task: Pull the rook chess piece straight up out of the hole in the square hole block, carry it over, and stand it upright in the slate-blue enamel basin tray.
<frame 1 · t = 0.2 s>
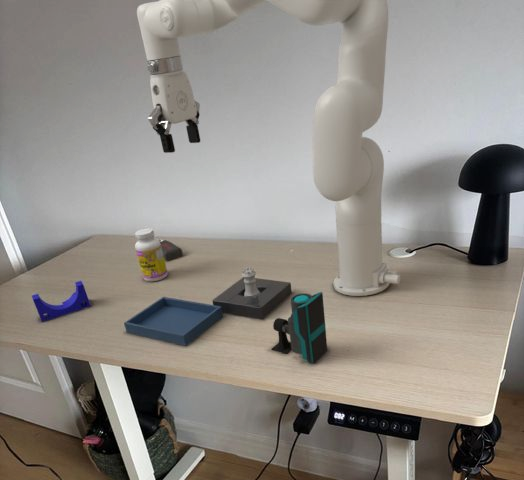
hand: (182, 147, 126), 31 cm above the table, tool pointing down, fingers open, 9 cm apart
basin tray: (175, 324, 115), on the table
square hole block: (253, 302, 119), on the table
blue curved cradle bracket: (65, 311, 130), on the table
supplement bottle: (156, 277, 141), on the table
surveillance camera: (298, 351, 99), on the table
rook chess piece: (253, 303, 119), resting in square hole block
usb drive: (167, 253, 156), on the table
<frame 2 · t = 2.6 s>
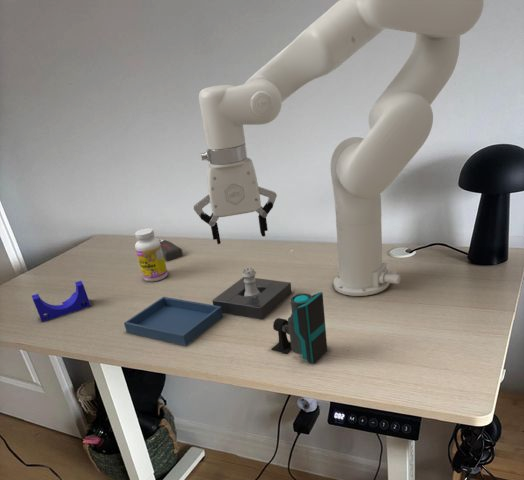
hand: (240, 238, 112), 15 cm above the table, tool pointing down, fingers open, 9 cm apart
nothing on the table moved.
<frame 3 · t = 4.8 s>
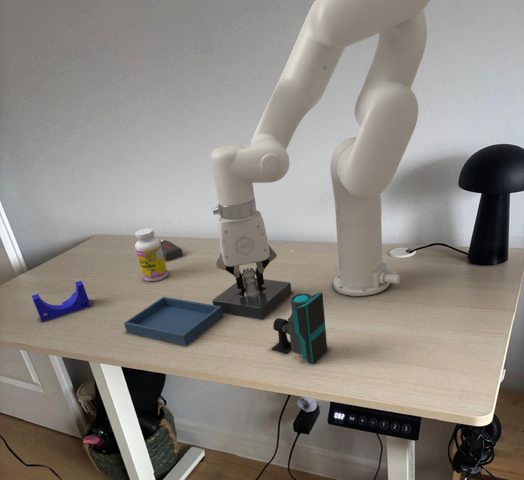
hand: (251, 288, 117), 3 cm above the table, tool pointing down, fingers closed on rook chess piece, 3 cm apart
rook chess piece: (253, 303, 119), resting in square hole block, touching gripper
everything else where it was.
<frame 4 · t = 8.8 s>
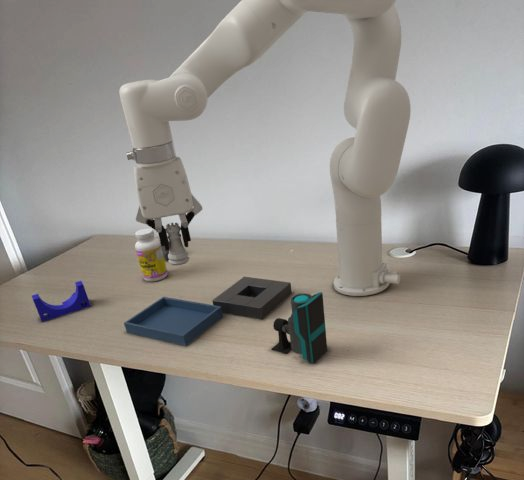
hand: (177, 245, 107), 17 cm above the table, tool pointing down, fingers closed on rook chess piece, 3 cm apart
rook chess piece: (179, 262, 109), point 14 cm above the table, touching gripper
everything else where it was.
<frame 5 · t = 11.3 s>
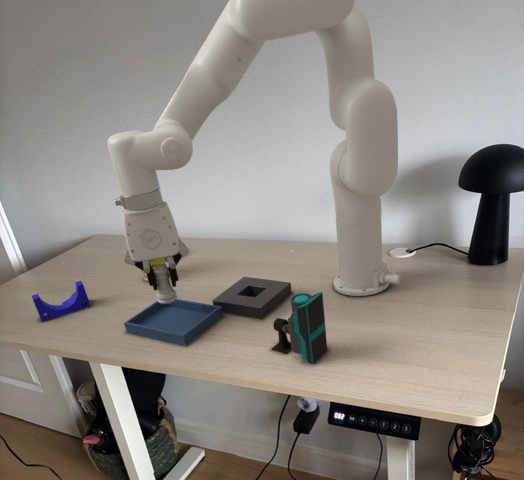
hand: (165, 285, 110), 10 cm above the table, tool pointing down, fingers closed on rook chess piece, 3 cm apart
rook chess piece: (167, 301, 112), point 6 cm above the table, touching gripper
everything else where it was.
when the fingers open (4 cm above the table, at t = 13.1 s): rook chess piece stays where it is, resting on basin tray.
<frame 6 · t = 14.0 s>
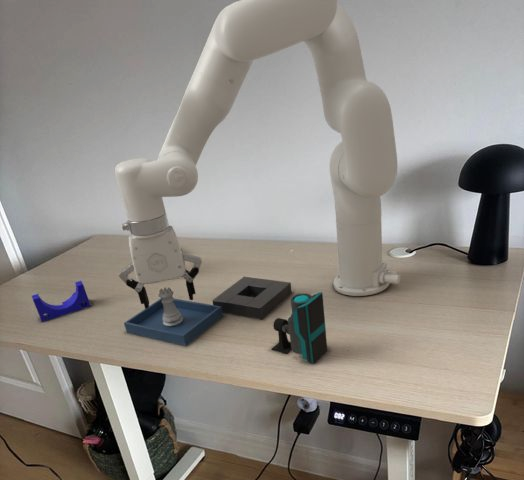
hand: (169, 301, 112), 6 cm above the table, tool pointing down, fingers open, 9 cm apart
rook chess piece: (173, 323, 115), resting on basin tray
everything else where it was.
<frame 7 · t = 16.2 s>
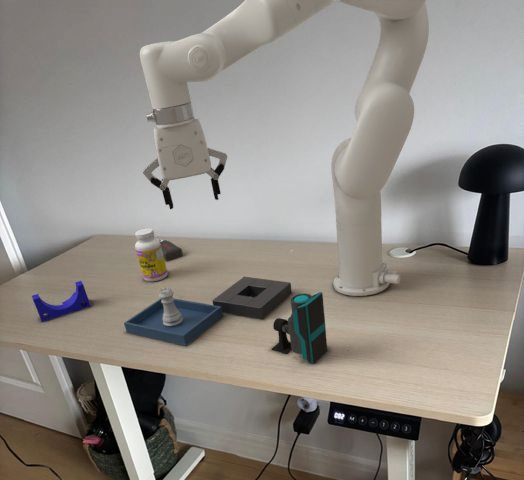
hand: (194, 202, 110), 24 cm above the table, tool pointing down, fingers open, 9 cm apart
nothing on the table moved.
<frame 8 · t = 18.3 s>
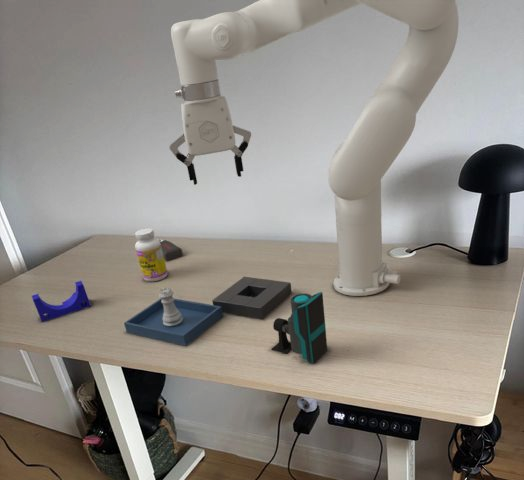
hand: (217, 179, 113), 26 cm above the table, tool pointing down, fingers open, 9 cm apart
nothing on the table moved.
at the end: rook chess piece inside the target area in the basin tray (0.2 cm from its centre), point 0.3 cm above the basin tray's base; rook chess piece tilted 0°; the gripper is holding nothing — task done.
